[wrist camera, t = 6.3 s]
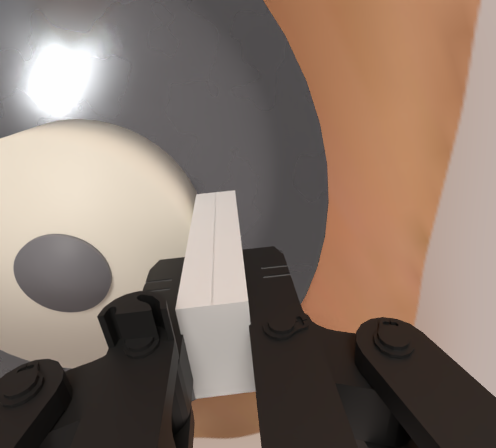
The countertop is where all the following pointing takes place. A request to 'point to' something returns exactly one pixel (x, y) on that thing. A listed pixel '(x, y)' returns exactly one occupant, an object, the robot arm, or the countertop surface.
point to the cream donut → (81, 232)
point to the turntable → (181, 103)
